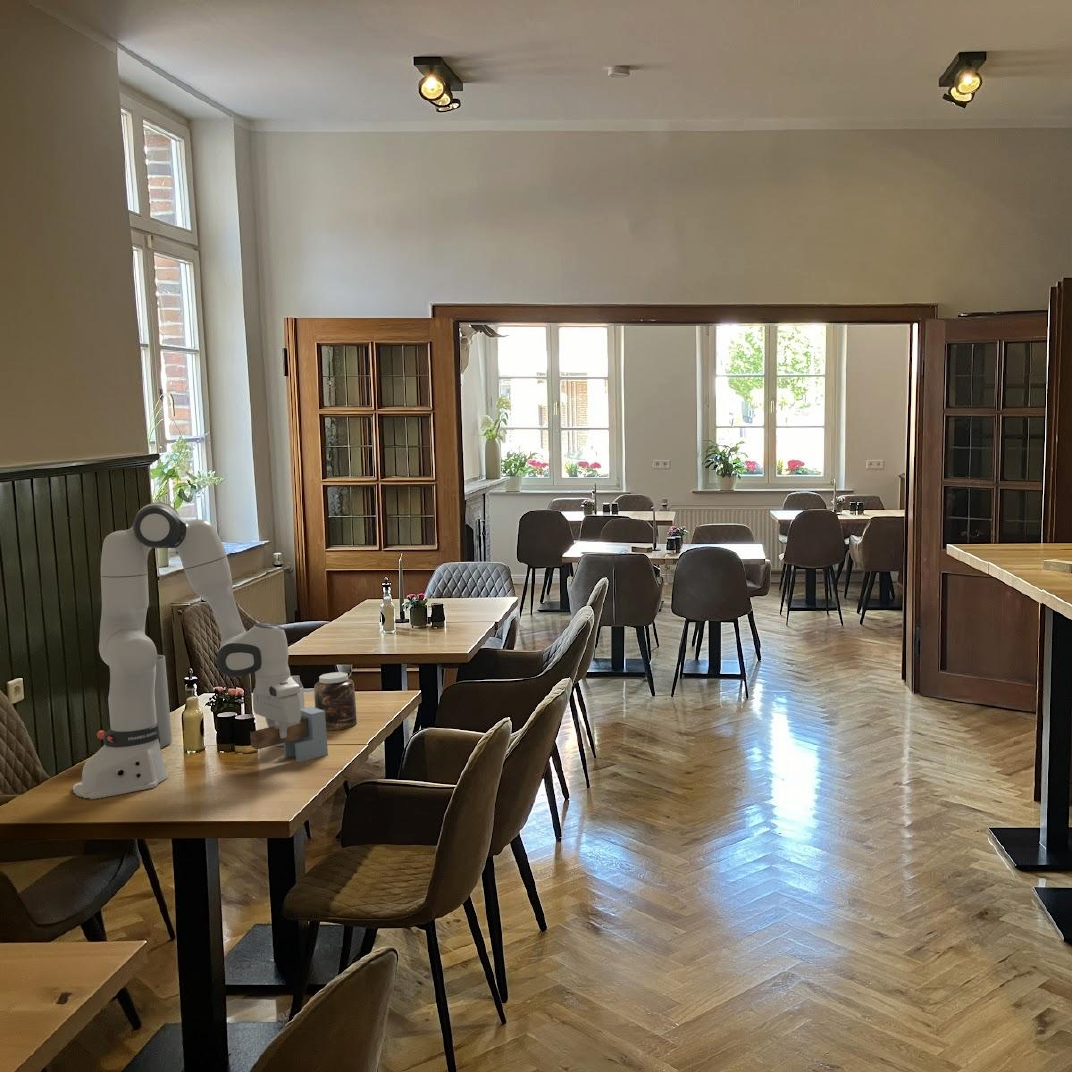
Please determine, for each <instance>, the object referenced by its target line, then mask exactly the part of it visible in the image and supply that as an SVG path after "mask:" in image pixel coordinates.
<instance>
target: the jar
mask: <svg viewBox="0 0 1072 1072" xmlns="http://www.w3.org/2000/svg"><path fill="white" fill-rule="evenodd" d="M318 679H319V680H318V682H316V683H315V684H314V686H313V687H314V688H313V691H314V692H313V694H314V695H313V696H314V708H317V709H320V710H323V711H325V720H326V731H339V730H345V729H349V728H351V727H354V726H355V725H357V723H358V720H357V705H356V703H357V702H356V690H355V682H354V681H353V680H352V679H351V678H349V675H348V673H347V672H342V671H340V672H337V671H336V672H329V673H322V674H321V675H320V676H319V677H318Z"/></svg>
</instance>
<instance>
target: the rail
mask: <svg viewBox="0 0 1072 1072" xmlns="http://www.w3.org/2000/svg"><path fill="white" fill-rule="evenodd" d="M279 729H280V726H279V725H276V726H272V727H268V726H267V727H264V728H261V729H257V730H253V731H250V732H249V734H250V735H249V737H250V738H249V739H250V746H251V748H253V749H255V750H258V751H259V750H261V749H266V748H270V747H273V746H276V745H277V744H281V743H285V742H289V741H293V740H297V739H300V738H304V737H308V728H307V718H305V717H302V716H301V719H300V722H299V723H298V724H294V725H290V726H288V728H287V737H286V738H280V737H278V731H279Z"/></svg>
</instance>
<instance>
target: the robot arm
mask: <svg viewBox="0 0 1072 1072" xmlns="http://www.w3.org/2000/svg"><path fill="white" fill-rule="evenodd" d="M152 549H175V551H176V552H177V554H178V556H179V558H180V562H181V563H182V568H183V571H184V573H185V577H186V578H187V581H188V583H189V585H190V587H191V588H192V590H193V592H194V593H195V594H196V595H197V596H199V597H201V598H202V599H203V600H205V601H206V602H207V603H208V605H209V607H210V609H211V611H212V614H213V617H214V619H215V622H216V625H217V629H218V631H219V633H220V643H219V644H220V645H219V649H218V652H217V654H216V656H215V663H216V666H217V669H218V670H219V671H220V672H221V674H223V675H225V676H226V677H229V678H239V677H243V676H247V675H251V674H253V673H255V684H254V686H255V687H254V688H253V691H252V707H253V708H252V709H253V712H254V713H255V715H257V716H260V717H264V718H265V722H266V724H267V728H268V727H272V726H276V724H275V721H276V722H278V723H279V726H280V729H279V731H278V737H280V738H286V737H287V728H288V726H290V725H294V724H298V723H299V722H300V719H301V708H300V699H299V696H298V693H300V686H299V685H298V684H297V683H296V682H295V681H294V680H293V678H292V677H291V676H292V675H291V670H290V667H289V664H288V663H289V662H288V661H289V655H290V654H289V646H288V645H289V644H288V639H287V635H286V632H285V629H284V628H283V627H282V626H281V625H279V624H278V623H277V624H276V623H272V622H259V623H256V624H254V625H253V626H252V627H251V628H250V629H249V630H247V628H246V627H245V625H244V622H243V621H242V617H241V615H240V612H239V608H238V606H237V602H236V599H235V597H234V591H233V578H232V577H233V576H232V571H231V566H230V562H229V559H228V555H227V553H226V549H225V547H224V544H223V542H222V539H221V538H220V536H219V534H218V532H217V530H216V528H215V527H214V525H213V523H212V522H210V521H209V520H206V519H201V518H200V519H193V520H183V519H182V518H181V517H180V514H179V513H178V511H177V510H176V509H175V508H174V507H173V506H171V504H168V503H165V502H151V503H148V504H146V505H144V506H143V507H141V508H140V509H139V510H138V512H137V513H136V515H135V517H134V518H133V523H132V526H130V528H128V529H125V530H123V529H120V530H116V531H113V532H111V533H110V534H108V535H106V536H105V538H104V540H103V543H102V547H101V555H100V588H101V592H100V593H101V616H100V625H99V626H100V627H99V643H98V652H99V656H100V658H101V660H102V661H103V663H105V664H106V665H107V666H108V667H109V677H110V678H109V691H108V692H109V693H108V697H107V701H108V702H107V703H108V711H109V714H108V715H109V724H110V728H109V729H108V730H107V731H104V730H98V731H97V733H96V736H97V738H98V739H100V740H103V745H102V747H101V748H99V750H98V751H97V752H95V754H93V755H92V756H91V757H90V758H89V759H88V760H87V761H86V762H84V765H83V768H82V772H81V781H80V782H76V783H75V784H73V786H72V793H73V794H74V793H75V794H74V795H75V796H77V797H79V796H82V797H84V798H83V799H85V798H90V799H89V800H97V798H98V799H103V798H107V796H108V797H112V796H113V797H114V796H117V795H123V794H127V793H134V792H138V791H143V790H147V789H152V788H155V787H157V786H158V785H159V783H161V782H164V780H166V779H167V778H168V777H169V774H168V771H167V769H166V765H165V763H164V759H163V755H162V751H161V748H160V728H159V723H158V722H157V718H156V706H155V678H156V662H157V655H158V651H157V647H156V645H155V643H154V641H153V640H152V639H151V638H150V637H149V636H147V635H146V620H147V613H148V608H149V606H150V600H149V597H150V596H149V577H148V576H149V573H148V572H149V570H148V557H149V553H150V551H151V550H152ZM102 797H103V798H102ZM93 798H94V799H93Z"/></svg>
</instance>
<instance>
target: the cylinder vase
mask: <svg viewBox="0 0 1072 1072" xmlns="http://www.w3.org/2000/svg"><path fill="white" fill-rule="evenodd" d="M168 688H169V687H168V679H167V666H166V655H163V654H157V662H156V678H155V706H156V718H157V722H158V723H159V728H160V749H162V748H165V747H167V746H168V745H170V744H171V743H172V742H173V735H172V726H171V713H170V712H171V711H170V701H169V700H170V699H169V689H168Z"/></svg>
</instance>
